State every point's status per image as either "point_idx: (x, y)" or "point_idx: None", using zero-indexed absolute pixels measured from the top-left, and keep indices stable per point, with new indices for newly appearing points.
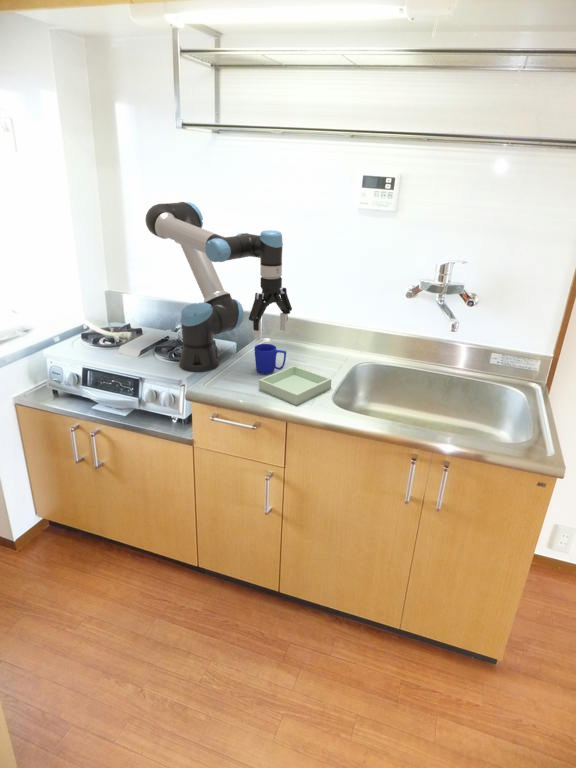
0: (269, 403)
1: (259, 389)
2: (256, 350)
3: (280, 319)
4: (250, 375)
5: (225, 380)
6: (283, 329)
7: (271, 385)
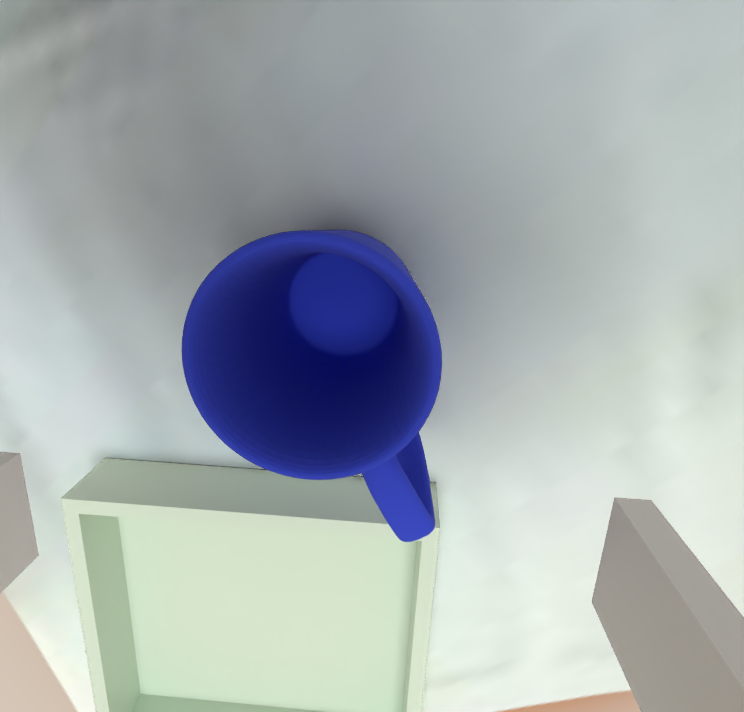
0: (48, 590)
1: (103, 464)
2: (184, 336)
3: (722, 677)
4: (217, 260)
5: (16, 183)
6: (605, 584)
7: (79, 593)
